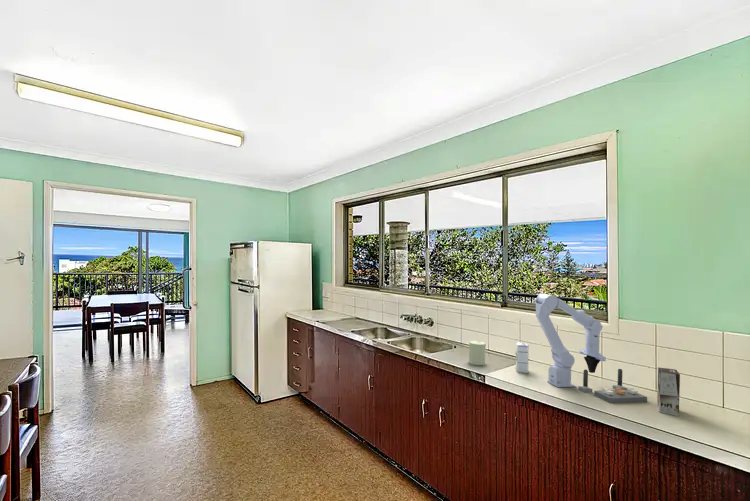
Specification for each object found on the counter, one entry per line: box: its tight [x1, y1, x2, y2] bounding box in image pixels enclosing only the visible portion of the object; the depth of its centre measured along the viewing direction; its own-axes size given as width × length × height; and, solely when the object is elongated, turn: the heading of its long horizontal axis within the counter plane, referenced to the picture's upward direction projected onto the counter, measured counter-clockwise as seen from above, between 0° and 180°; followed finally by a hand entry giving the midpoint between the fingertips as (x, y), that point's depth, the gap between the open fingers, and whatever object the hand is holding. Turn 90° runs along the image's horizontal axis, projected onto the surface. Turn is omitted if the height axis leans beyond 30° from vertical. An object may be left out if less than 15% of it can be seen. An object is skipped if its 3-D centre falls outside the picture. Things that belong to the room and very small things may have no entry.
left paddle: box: [602, 387, 614, 395], centre depth 163 cm, size 2×3×2 cm
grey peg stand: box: [577, 369, 593, 393], centre depth 173 cm, size 4×4×10 cm
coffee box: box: [656, 367, 681, 417], centre depth 152 cm, size 9×6×16 cm
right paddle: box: [626, 387, 639, 394], centre depth 165 cm, size 2×3×2 cm
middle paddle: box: [614, 388, 626, 394], centre depth 164 cm, size 2×3×2 cm
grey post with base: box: [612, 368, 628, 390], centre depth 176 cm, size 4×4×10 cm
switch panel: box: [593, 389, 648, 404], centre depth 164 cm, size 18×9×2 cm, turn 100°
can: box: [468, 340, 487, 366], centre depth 214 cm, size 9×9×12 cm
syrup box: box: [515, 342, 530, 373], centre depth 201 cm, size 6×6×14 cm
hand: (591, 372), depth 181 cm, fingers closed
